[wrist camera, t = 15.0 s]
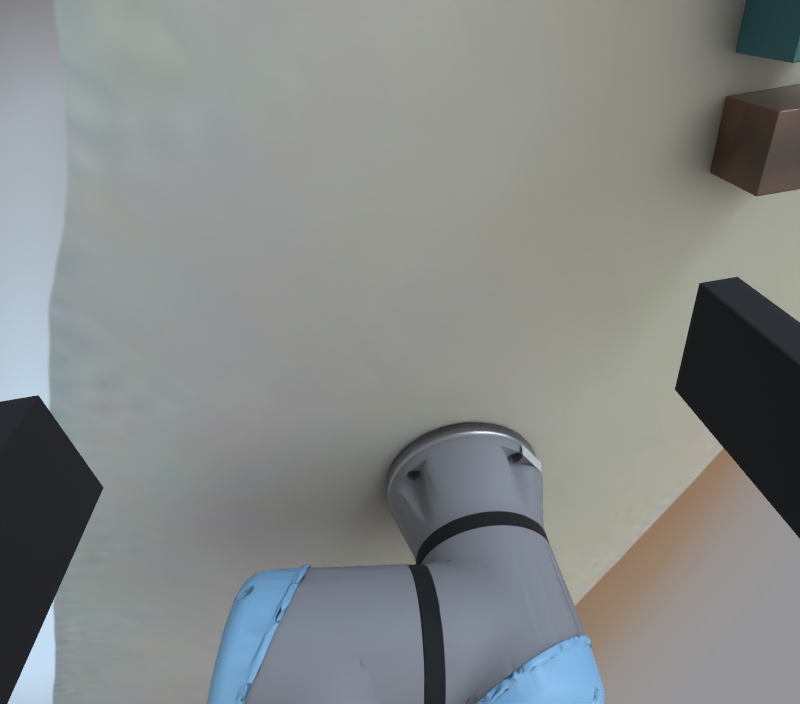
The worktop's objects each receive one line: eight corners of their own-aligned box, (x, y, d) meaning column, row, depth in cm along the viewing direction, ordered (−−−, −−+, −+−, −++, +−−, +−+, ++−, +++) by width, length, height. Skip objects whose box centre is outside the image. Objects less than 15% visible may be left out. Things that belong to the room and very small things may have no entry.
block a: (778, 161, 37) (833, 183, 33) (709, 173, 37) (756, 196, 33) (801, 83, 34) (864, 97, 30) (726, 96, 34) (779, 112, 30)
